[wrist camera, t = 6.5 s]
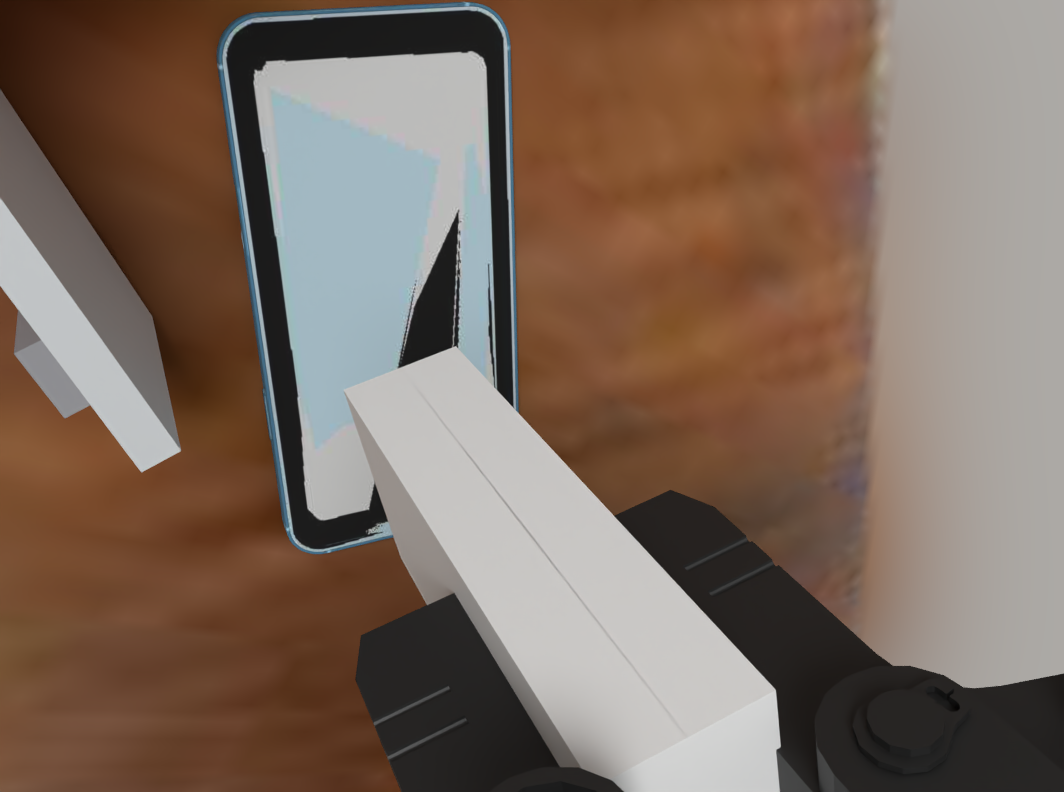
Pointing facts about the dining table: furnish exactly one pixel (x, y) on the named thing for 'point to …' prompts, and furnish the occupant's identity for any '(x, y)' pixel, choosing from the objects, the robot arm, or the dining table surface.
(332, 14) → the smartphone
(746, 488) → the dining table surface
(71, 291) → the door
